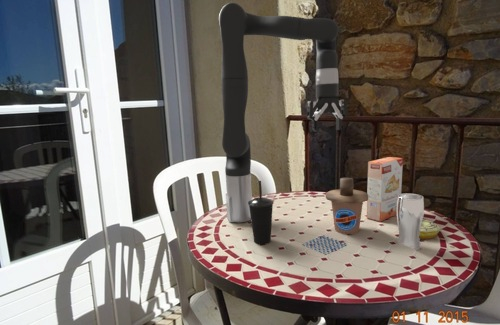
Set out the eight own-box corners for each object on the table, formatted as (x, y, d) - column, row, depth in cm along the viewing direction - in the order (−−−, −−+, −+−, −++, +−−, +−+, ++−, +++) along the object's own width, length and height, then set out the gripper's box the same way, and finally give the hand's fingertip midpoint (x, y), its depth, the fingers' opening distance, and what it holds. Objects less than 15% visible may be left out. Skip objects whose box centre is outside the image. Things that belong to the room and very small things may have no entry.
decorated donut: (445, 233, 105) (446, 222, 104) (429, 244, 99) (430, 231, 98) (412, 225, 113) (412, 214, 113) (395, 234, 107) (395, 222, 106)
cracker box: (381, 222, 117) (382, 163, 113) (365, 218, 121) (366, 161, 118) (401, 213, 125) (403, 157, 121) (386, 209, 130) (387, 156, 126)
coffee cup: (327, 237, 106) (327, 201, 104) (332, 226, 115) (332, 192, 113) (362, 241, 102) (362, 203, 100) (364, 229, 111) (365, 194, 109)
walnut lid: (338, 205, 99) (338, 185, 98) (318, 194, 111) (318, 177, 110) (377, 200, 102) (377, 181, 101) (353, 190, 115) (353, 173, 114)
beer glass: (425, 252, 93) (427, 200, 90) (398, 251, 94) (399, 199, 92) (418, 242, 99) (420, 193, 97) (393, 241, 101) (394, 193, 98)
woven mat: (298, 250, 99) (298, 244, 99) (322, 240, 105) (322, 234, 105) (326, 262, 91) (326, 255, 91) (350, 250, 97) (350, 244, 97)
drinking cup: (257, 252, 98) (254, 185, 94) (245, 243, 105) (242, 180, 101) (279, 246, 101) (277, 181, 98) (267, 238, 108) (264, 177, 104)
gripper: (340, 83, 120) (340, 128, 123) (303, 84, 117) (303, 131, 119) (351, 81, 113) (351, 130, 116) (312, 83, 109) (312, 132, 112)
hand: (327, 130), depth 118 cm, fingers open, 8 cm apart
